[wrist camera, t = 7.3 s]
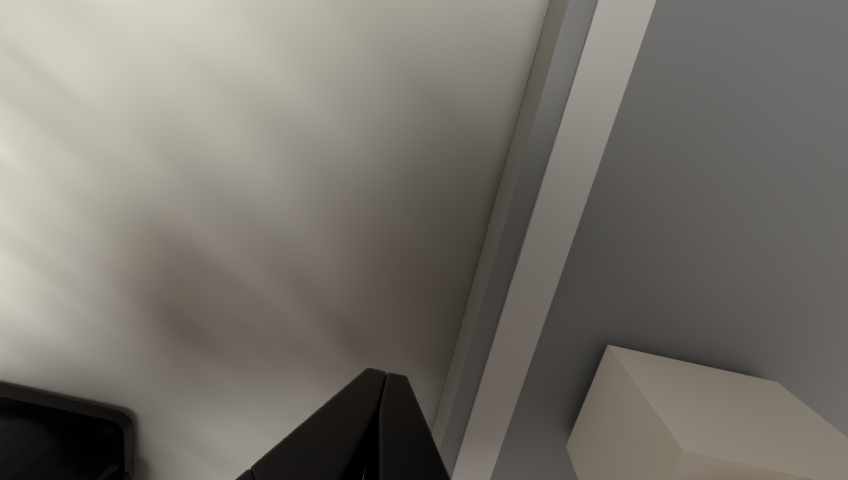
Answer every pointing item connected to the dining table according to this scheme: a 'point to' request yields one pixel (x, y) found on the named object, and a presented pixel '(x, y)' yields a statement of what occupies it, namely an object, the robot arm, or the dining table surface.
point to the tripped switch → (697, 426)
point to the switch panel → (658, 220)
